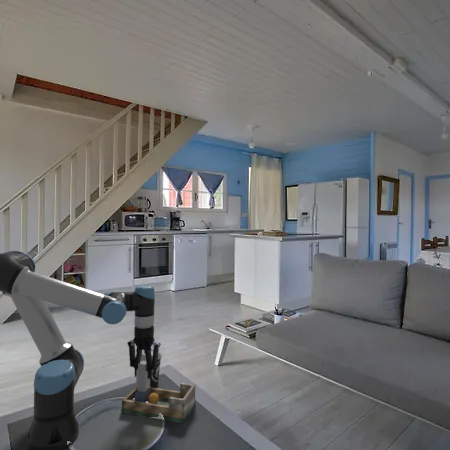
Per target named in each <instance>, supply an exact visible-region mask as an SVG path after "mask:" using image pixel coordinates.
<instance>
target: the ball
mask: <svg viewBox="0 0 450 450" xmlns="http://www.w3.org/2000/svg"><path fill="white" fill-rule="evenodd" d="M158 400H159V396H158V394H156V393H152V394H150V395H149V398H148V401H149V403H151V404H156V403H157V402H158Z"/></svg>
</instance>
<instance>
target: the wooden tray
mask: <svg viewBox="0 0 450 450" xmlns="http://www.w3.org/2000/svg"><path fill="white" fill-rule="evenodd" d="M137 391H138V387H137V386H136V387H134V388H133V390H131V391H130V392H129V393H128V394H127V395H126V396H125V397H124V398H123V399H122V400H121V410H120V413H121V414H123V413H124V414H125V415H129V414H132V415H131V416H135V415H139V416H138V417H140V416H145V417H144V418H146V417H158V416H159V415H158V414H159V413H161V414H162V415H163V417H164V419H165V421H166V422H172V423H176V424H183V425H184V424H185V423H186V420H187V419H188V417H189V416H190V414H191V412H192V411H193V409H194V407H195V406H196V384H193V383H186V382H180V383H179V390H173V389H172V390H171V389H165V388H158V387H157V388H152V387H151V394H152V393H156V394H158V396H159V400H158V402H157V403H156V404H151V403H145V402H139V401H132V399H133V398H135V393H136V392H137ZM148 402H149V401H148ZM124 414H123V415H124Z"/></svg>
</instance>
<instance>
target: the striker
mask: <svg viewBox="0 0 450 450" xmlns="http://www.w3.org/2000/svg"><path fill="white" fill-rule="evenodd" d="M146 370H147V364H146V361H141V362H140V363H138V391H137V392H136V393H135V401H139V402H146V401H148V398H149V395H150V394H151V386H148V387H147V388H145V371H146Z"/></svg>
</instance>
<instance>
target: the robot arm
mask: <svg viewBox="0 0 450 450" xmlns="http://www.w3.org/2000/svg"><path fill="white" fill-rule="evenodd" d="M35 263H36V262H35V260H34V258H33V257H32V256H31V255H30V254H28V253H26V252H23V251H18V250H11V251H8V252H2V253H0V292H1V293H2V294H3V296H7V297H10V298H11V300H12V302H13V304H14V306H15V307H16V310H17V311H18V313H19V315H20V318H21V319H22V321H23V323H24V325H25V327H26V328H27V330H28V333H29V334H30V336H31V338H32V340H33V342H34V344H35V346H36V348H37V351H39V352H38V353H40V359H39V361H38V363H39V365H40V367H39V368H38V369H37V370H36V372H35V374H34V380H33V391H34V392H33V419H32V422H31V426H30V429H29V431H28V434H27V437H26V449H27V450H62V449H65V448H66V447H68V446H69V445H67V441H70V442H72V443H73V442H75V441H76V440H77V438H78V436H79V432H80V425H79V422H78V420H77V417H76V414H75V410H74V403H75V402H74V401H75V398H74V397H75V387H76V385H77V384H78V382H79V379H80V377H81V376H82V374H83V371H84V367H85V360H84V359H85V358H84V356H83V354H82V353H81V352H80V351H79V350H78V349H75V347H74V345H73V343H72V342H68V341H66V340H65V338H64V336H63V334H62V332H61V330H60V329H59V327H58V325H57V323H56V320H55V318H54V316H53V315H52V313H51V311H50V309H49V307H48V305H47V303H46V302H48V303H50V304H51V303H52V304H54V305H57V306H61V307H64V308H67V309H69V310H70V309H71V310H73V311H78V312H81V313H84V314H87V315H90V316H94V317H97V318H101V319H102V320H103V321H104V323H106V324H108V325H116V324H119V323H121V322H122V321H123V320H124V318H125V317H126V315H127V312H134V327H133V328H134V330H133V334H134V337H133V339H130V340H128V342H127V347H128V350H129V351H128V352H129V355H128V356H129V367H130V368H133V369H134V377H135V378H136V380H135V383H136V385H135V386H136V387H138V363H140V362H141V356H142V352H143V351H144V352H145V355H146V364H147V370H146V371H145V388H147V387H148V386H149V385H150V378H151V377H152V370H154V369H155V368H156V367H157V361H158V351H159V350H160V347H161V346H162V345H161V342H157V341H156V340H155V338H154V336H155V301H156V300H155V294H156V293H155V287H154V286H153V285H147V284H146V285H145V284H143V285H138V286H136V287H135V288H134V290H133V291H110V292H104V293H101V292H97V291H94V290H92V289H89V288H84V287H81V286H78V285H75V284H73V283H69V282H65V281H63V280H59V279H57V278H53V277H51V276H47V275H44V274H40V273H37V272H36V264H35ZM151 349H153V357H152V356H151Z"/></svg>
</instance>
